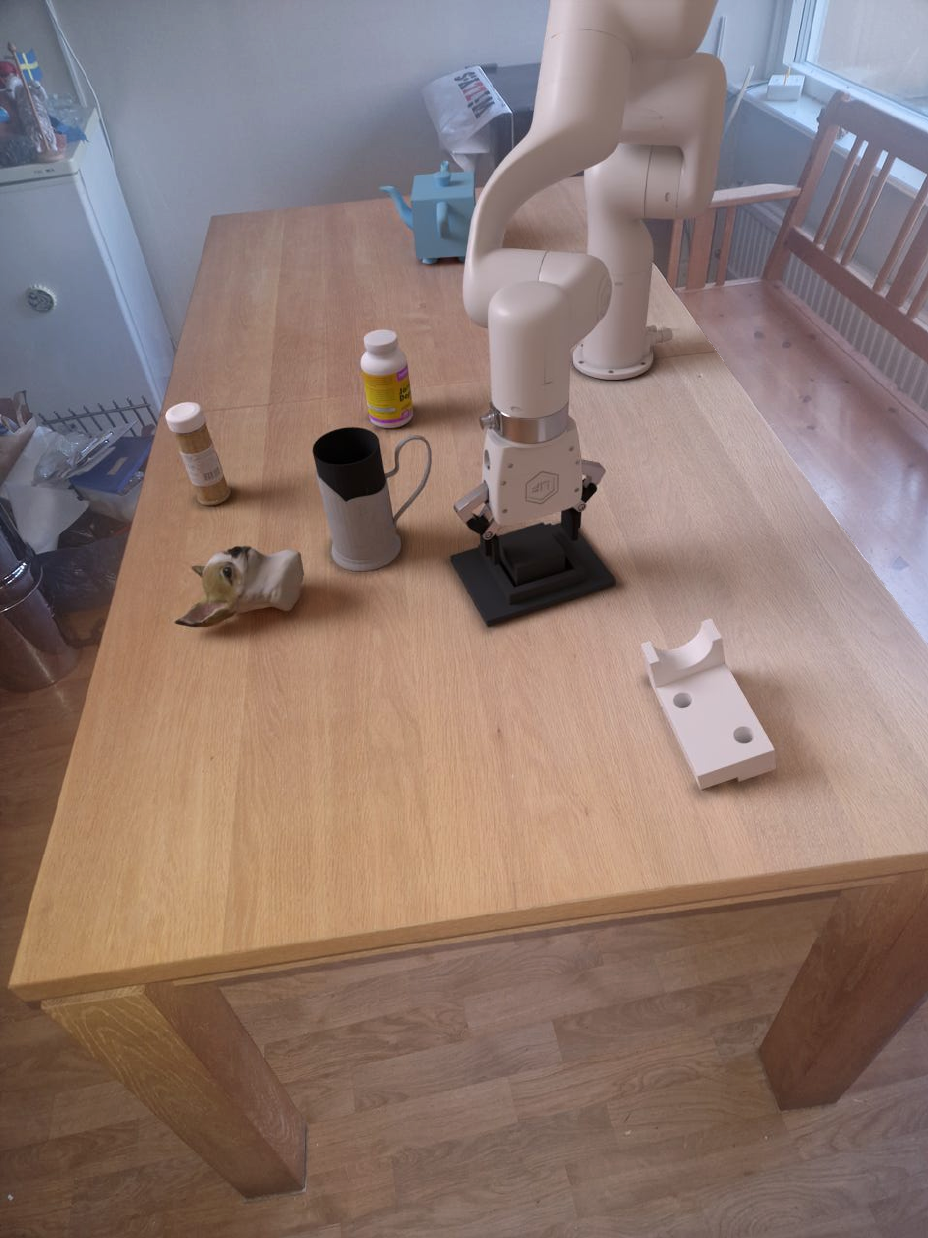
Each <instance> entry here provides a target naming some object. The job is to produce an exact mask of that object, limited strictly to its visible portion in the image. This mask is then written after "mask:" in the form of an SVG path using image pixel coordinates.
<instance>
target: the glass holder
mask: <svg viewBox="0 0 928 1238" xmlns="http://www.w3.org/2000/svg"><path fill="white" fill-rule="evenodd" d="M416 440H417V441H418V440H420V441H421V442H424V443H425V446H426V450H427V461H426V467H425V471H424V474H423V477H422V479H421V480H420V483H419V485H418V486H417V487H416V489H415V490H414V492H413V493H412V494H411V496H410V497H409V498H408V499H407V501H405V502H404V503H403V505H402V506H401V507H400V508H399V510H398V511H397V512H396V513H395V514H393V508H392V502H391V495H390V490H389V484H388V479H389V478H391V477H394V476H396V475H397V473H398V472H399V470H400V453H401V450H402V449H403V447H404V446H405V445H406V444H407V443H409V442H410V441H416ZM380 443H381V442H380V438H379V437H378V435H377V434H376V433H375V432H373V431H372V430H369V429H367V428H364V427H359V426H357V427H356V426H348V427H341V428H337V429H333V430H331V431H328V432H326V433H324V434H323V435H321V436H320V437H319V438H317V440H316V441H314V444H313V445H312V455H313V460H314V464H315V475H316V479H317V483H318V487H319V491H320V496H321V500H322V504H323V508H324V512H325V517H326V522H327V526H328V529H329V534H330V537H331V542H332V545H331V549H330V551H331V553H330V554H331V557H332V560H333V561H334V562H335V563H336V564H337V565H338V566H339V567H341V568H342V569H345V570H348V571H351V572H352V571H353V572H369V571H375V570H377V569H380V568H383V567H385V566H387V565H389V564H390V563H391V562H393V561H394V560H395V559H396V558H397V556H398V555H399V554H400V551H401V549H402V541H401V537H400V535H398V533H397V532H396V528H397V527H398V525H397V522H398V520H399V519H400V517H401V516H402V515H403V514H404V513H405V512H406V511H407V509H408V508H409V507H410V506H411V505H412V504H413V503H414V501H415V500H416V499H417V498H418V497H419V495H420V494H421V493H422V492H423V490H424V488H425V487H426V484H427V482H428V480H429V477H430V473H431V469H432V464H433V458H432V457H433V455H432V448H431V444H430V443H429V441H428V440H427V439H426V437H424V436H422V435H419V434H411V435H407V436H405V437H403V438H402V439H401V440H400V441H399V442H398V444H397V446H396V447H395V450H394V468H393V469H392V470H391V471H388V472H385V468H384V463H383V455H382V450H381V444H380Z"/></svg>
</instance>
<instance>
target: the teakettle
mask: <svg viewBox="0 0 928 1238" xmlns="http://www.w3.org/2000/svg"><path fill="white" fill-rule="evenodd" d="M450 170H451V169H450V162H449V161H448V160H442V161H441V163H440V171H436V172H435V173H429V174H415V175H414V176H413V183H412V189H411V195H410V201H409V202H410V207H409V206H408V205H407V203H406V201H405V200H404V197H403V196H402V193H401V192H400V190H399V189H397V187H394V186H392V185H383V186H382V185H381V186H378V189H379V190H381V191H383V192H384V193H387V194H388V195H389V196H390V198H391V199H392V200H393V203H394V205H395V207H396V209H397V212H398V215H399V217H400V219H401V222H403V224H404V225H405V226H406V228H408V229H409V230H411V231H413V240H414V247H415V248H414V249H415V258H416V260H421V259H422V263H423V264H427V265H430V264H431V265H433V264H435V263H437V262H438V258H439V259H441V258H454V257H457V259H458V261H460V262H462V263H463V262H464V263H465V259H466V252H467V245H468V238H469V232H470V225H471V220H472V216H473V212H474V209H475V206H476V204H477V200H476V198H477V197H476V179H475V171H461V172H451V171H450Z"/></svg>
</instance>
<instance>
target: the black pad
mask: <svg viewBox="0 0 928 1238" xmlns="http://www.w3.org/2000/svg"><path fill="white" fill-rule="evenodd" d="M497 536H498V538H499V551H500V563H501V565H502V567H503V568H504V570H505V571H506V573H507V575H508V576H509V578H510V579H511V581H512V583H513V584H514V586H515V587H518V586H521V585H524V584H527V583H531V582H534V581H537V580H540V579H543V578H547V577H550V576H553V575H556V574H559V573H562V572H565V551H564V550H563V549H562V547H561V546H560V545H559V543H558V542H557V540H556V539H555V538H554V536H553V535H552V534H551V532H550V531H549V529H548V528H547V527H546V523H545V522H543V521H542V522H538V523H536V524H532V525H529V526H526V527H522V528H518V529H515V530H512V531H509V532H505V533H502V534H499V535H498V534H497Z"/></svg>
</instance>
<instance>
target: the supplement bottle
mask: <svg viewBox="0 0 928 1238" xmlns="http://www.w3.org/2000/svg"><path fill="white" fill-rule="evenodd" d="M363 344H364V348H365V350H366V351H365V352H364V353H363V355H362V356H361V358H360V369H361V375H362V380H363V381H362V382H363V387H364V393H365V399H366V405H367V406H366V407H367V411H368V417H369V420H370V421H371V423H372V424H373V425H374V426H376V427H379V428H383V429H395V428H399V427H402V426H404V425H406V424H408V423H409V422H410V421H411V420H412V419H413V416H414V406H413V397H412V390H411V380H410V373H409V372H410V371H409V366H408V358H407V355H406V353H405V352H404V350H402V349H401V348H399V347H398V345H399V340H398V335H397V333H396V332H395V331H393V330H391V329H383V328H382V329H376V330H372V331H369V332H368V333H366V334H365V335H364V337H363Z"/></svg>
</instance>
